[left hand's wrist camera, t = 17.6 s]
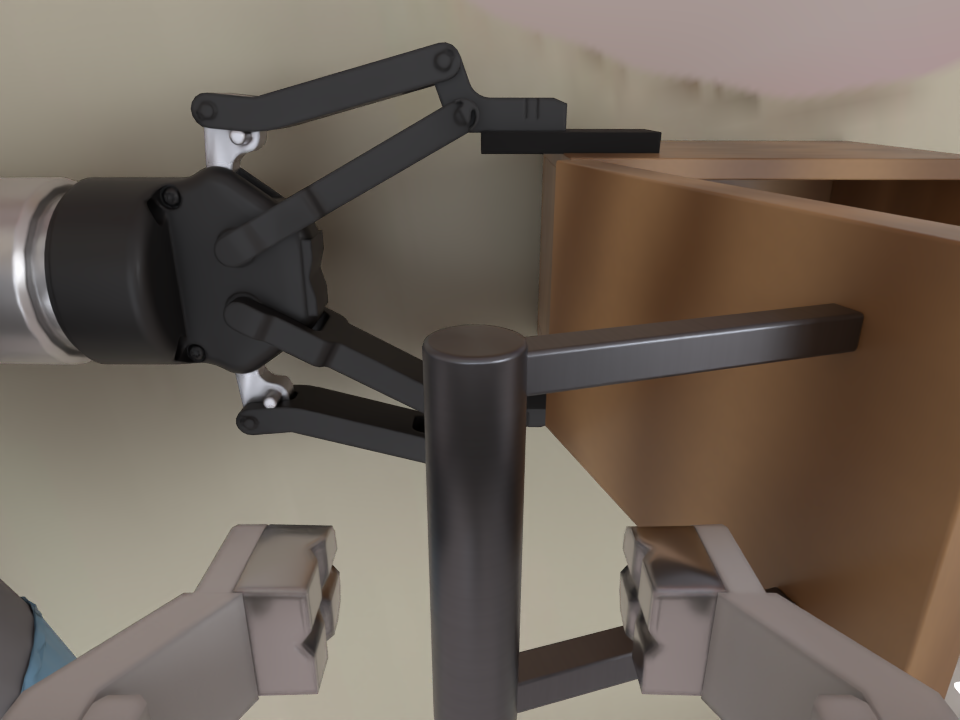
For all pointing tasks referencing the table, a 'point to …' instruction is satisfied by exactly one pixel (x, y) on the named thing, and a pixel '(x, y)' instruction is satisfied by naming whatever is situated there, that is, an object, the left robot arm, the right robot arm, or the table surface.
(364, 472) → the table surface
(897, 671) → the left robot arm
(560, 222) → the lid
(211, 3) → the table surface
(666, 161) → the chest
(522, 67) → the table surface
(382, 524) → the table surface
